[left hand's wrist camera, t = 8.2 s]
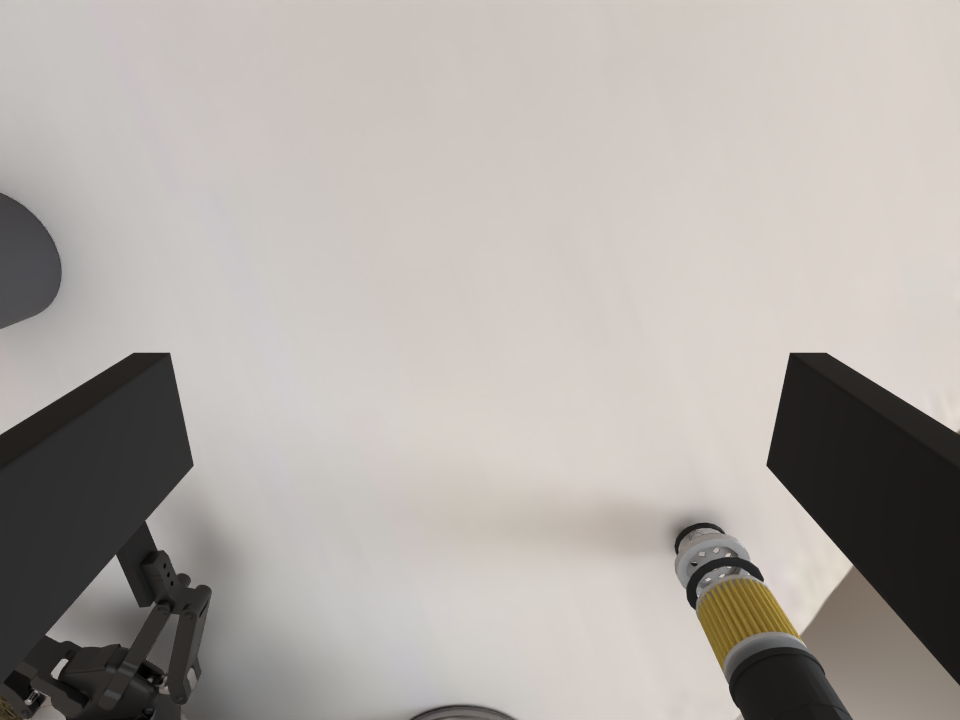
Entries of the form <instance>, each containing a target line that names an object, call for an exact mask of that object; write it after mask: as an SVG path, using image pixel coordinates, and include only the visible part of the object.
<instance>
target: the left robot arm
mask: <svg viewBox="0 0 960 720" xmlns="http://www.w3.org/2000/svg"><path fill="white" fill-rule="evenodd" d="M193 466H194V465H193V460H192V455H191V451H190V446H189V441H188V436H187V431H186V427H185V422H184V417H183V412H182V408H181V403H180V398H179V393H178V389H177V384H176V379H175V374H174V370H173V365H172V360H171V355H170V353H133V354H131V355H129V356H128V357H126V358H125V359H123V360H121V361H120V362H118V363H116V364H115V365H113V366H112V367H110V368H108V369H107V370H105V371H103V372H102V373H100V374H99V375H97V376H95V377H94V378H92V379H90V380H89V381H87V382H86V383H84V384H82V385H81V386H79V387H77V388H76V389H74V390H73V391H71V392H69V393H68V394H66V395H64V396H63V397H61V398H60V399H58V400H56V401H55V402H53V403H51V404H50V405H48V406H47V407H45V408H43V409H42V410H40V411H38V412H37V413H35V414H34V415H32V416H30V417H29V418H27V419H25V420H24V421H22V422H21V423H19V424H17V425H16V426H14V427H12V428H11V429H9V430H8V431H6V432H4V433H3V434H1V435H0V685H1V684H2V683H3V682H4V681H5V680H6V678H7V677H8V676H9V675H10V674H11V673H12V672H13V671H14V669H15V668H16V667H17V666H18V665H19V664H20V663H21V661H22V660H23V659H24V658H25V657H26V656H27V655H28V653H29V652H30V651H31V650H32V649H33V648H34V647H35V645H36V644H37V643H38V642H39V641H40V640H41V639H42V638H43V636H44V635H45V634H46V633H47V632H48V631H49V630H50V628H51V627H52V626H53V625H54V624H55V623H56V622H57V620H58V619H59V618H60V617H61V616H62V615H63V614H64V612H65V611H66V610H67V609H68V608H69V607H70V606H71V605H72V603H73V602H74V601H75V600H76V599H77V598H78V597H79V595H80V594H81V593H82V592H83V591H84V590H85V589H86V587H87V586H88V585H89V584H90V583H91V582H92V581H93V579H94V578H95V577H96V576H97V575H98V574H99V573H100V572H101V570H102V569H103V568H104V567H105V566H106V565H107V564H108V562H109V561H110V560H111V559H112V558H113V557H114V556H115V554H116V553H117V552H118V551H119V550H120V549H121V548H122V546H123V545H124V544H125V543H126V542H127V541H128V540H129V539H130V537H131V536H132V535H133V534H134V533H135V532H136V531H137V529H138V528H139V527H140V526H141V525H142V524H143V523H144V521H145V520H146V519H147V518H148V517H149V516H150V515H151V513H152V512H153V511H154V510H155V509H156V508H157V507H158V506H159V504H160V503H161V502H162V501H163V500H164V499H165V498H166V496H167V495H168V494H169V493H170V492H171V491H172V490H173V488H174V487H175V486H176V485H177V484H178V483H179V482H180V480H181V479H182V478H183V477H184V476H185V475H186V474H187V473H188V471H189V470H190V469H191V468H192V467H193ZM766 466H767V467H768V468H769V469H770V470H771V471H772V473H773V474H774V475H775V476H776V477H777V478H778V479H779V480H780V482H781V483H782V484H783V485H784V486H785V487H786V488H787V490H788V491H789V492H790V493H791V494H792V495H793V496H794V498H795V499H796V500H797V501H798V502H799V503H800V504H801V506H802V507H803V508H804V509H805V510H806V511H807V512H808V513H809V515H810V516H811V517H812V518H813V519H814V520H815V521H816V523H817V524H818V525H819V526H820V527H821V528H822V529H823V531H824V532H825V533H826V534H827V535H828V536H829V537H830V539H831V540H832V541H833V542H834V543H835V544H836V545H837V546H838V548H839V549H840V550H841V551H842V552H843V553H844V554H845V556H846V557H847V558H848V559H849V560H850V561H851V562H852V564H853V565H854V566H855V567H856V568H857V569H858V570H859V572H860V573H861V574H862V575H863V576H864V577H865V578H866V579H867V581H868V582H869V583H870V584H871V585H872V586H873V587H874V589H875V590H876V591H877V592H878V593H879V594H880V595H881V597H882V598H883V599H884V600H885V601H886V602H887V603H888V605H889V606H890V607H891V608H892V609H893V610H894V611H895V612H896V614H897V615H898V616H899V617H900V618H901V619H902V620H903V622H904V623H905V624H906V625H907V626H908V627H909V628H910V630H911V631H912V632H913V633H914V634H915V635H916V636H917V638H918V639H919V640H920V641H921V642H922V643H923V644H924V645H925V647H926V648H927V649H928V650H929V651H930V652H931V653H932V655H933V656H934V657H935V658H936V659H937V660H938V661H939V663H940V664H941V665H942V666H943V667H944V668H945V669H946V671H947V672H948V673H949V674H950V675H951V676H952V677H953V678H954V680H955V681H956V682H957V683H958V684H959V685H960V435H959V434H957V433H956V432H954V431H952V430H951V429H949V428H948V427H946V426H944V425H943V424H941V423H939V422H938V421H936V420H935V419H933V418H931V417H930V416H928V415H926V414H925V413H923V412H922V411H920V410H918V409H917V408H915V407H913V406H912V405H910V404H909V403H907V402H905V401H904V400H902V399H900V398H899V397H897V396H896V395H894V394H892V393H891V392H889V391H887V390H886V389H884V388H883V387H881V386H879V385H878V384H876V383H874V382H873V381H871V380H870V379H868V378H866V377H865V376H863V375H861V374H860V373H858V372H857V371H855V370H853V369H852V368H850V367H848V366H847V365H845V364H844V363H842V362H840V361H839V360H837V359H835V358H834V357H832V356H831V355H829V354H827V353H790V355H789V360H788V365H787V370H786V374H785V379H784V384H783V389H782V393H781V398H780V403H779V408H778V412H777V417H776V422H775V427H774V431H773V436H772V441H771V446H770V451H769V455H768V460H767V465H766Z"/></svg>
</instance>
